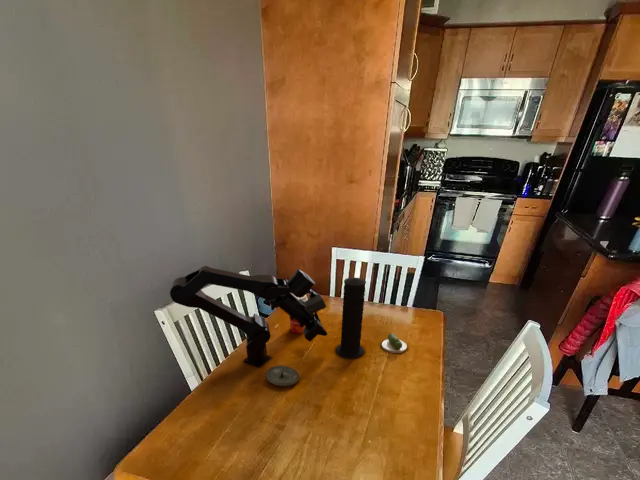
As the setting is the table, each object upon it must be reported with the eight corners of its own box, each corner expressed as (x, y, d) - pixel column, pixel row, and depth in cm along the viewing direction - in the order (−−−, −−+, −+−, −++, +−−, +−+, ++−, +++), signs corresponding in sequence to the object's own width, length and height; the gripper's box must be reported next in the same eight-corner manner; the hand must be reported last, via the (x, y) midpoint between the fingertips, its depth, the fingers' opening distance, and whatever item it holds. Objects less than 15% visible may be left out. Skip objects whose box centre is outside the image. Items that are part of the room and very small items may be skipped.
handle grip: (364, 359, 125) (364, 344, 133) (371, 285, 109) (371, 273, 118) (335, 357, 126) (336, 342, 134) (338, 283, 110) (340, 271, 118)
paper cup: (285, 327, 143) (283, 293, 135) (303, 323, 146) (302, 290, 137) (292, 336, 137) (291, 301, 129) (311, 332, 140) (311, 298, 132)
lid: (264, 378, 118) (259, 367, 114) (291, 364, 120) (287, 353, 116) (276, 397, 110) (272, 386, 107) (305, 382, 113) (301, 370, 109)
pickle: (410, 351, 129) (412, 342, 127) (386, 354, 128) (387, 345, 126) (401, 339, 136) (402, 330, 134) (378, 341, 135) (379, 332, 133)
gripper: (316, 300, 105) (350, 331, 114) (305, 277, 120) (336, 306, 129) (290, 327, 109) (325, 355, 117) (282, 301, 124) (315, 328, 132)
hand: (326, 334), depth 124 cm, fingers closed
